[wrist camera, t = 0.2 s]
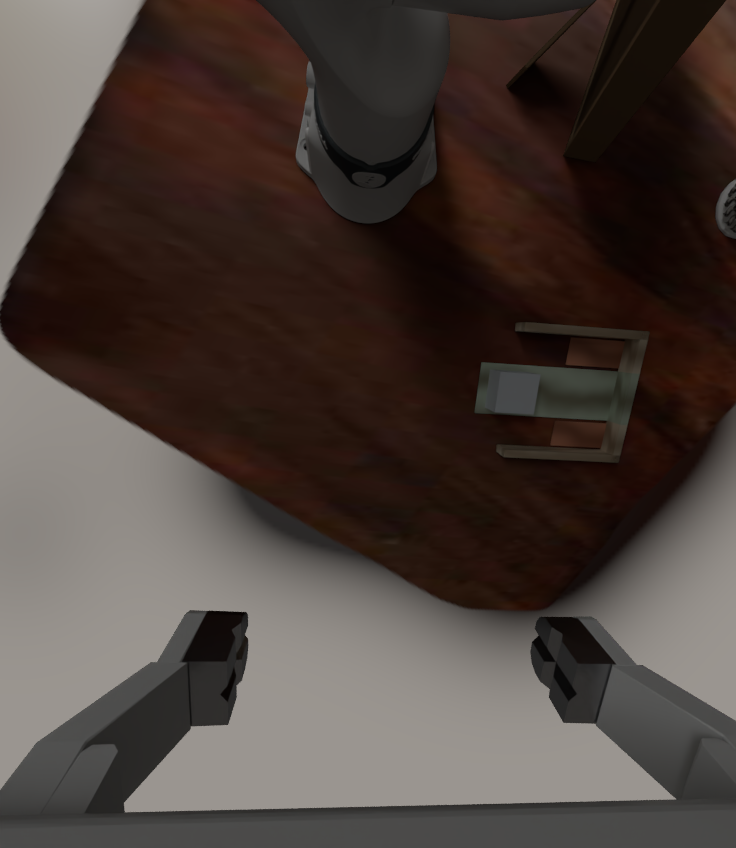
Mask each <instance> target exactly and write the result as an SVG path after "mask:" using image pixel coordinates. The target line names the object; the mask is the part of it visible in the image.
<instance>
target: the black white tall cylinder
mask: <svg viewBox="0 0 736 848" xmlns="http://www.w3.org/2000/svg"><path fill="white" fill-rule="evenodd" d="M715 219H716V222H717V225H718V228H719V230H720V231H721V232H722V233H723V234H724V235H725V236H727V237H731V238H734V239H736V180H734V181H732V182H731V183H729V184H728V186H727V187H726V188H725V189H724V190H723V192H722V193H721V195H720V197H719V200H718V202H717V205H716V214H715Z"/></svg>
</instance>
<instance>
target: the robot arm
mask: <svg viewBox="0 0 736 848" xmlns="http://www.w3.org/2000/svg"><path fill="white" fill-rule="evenodd" d="M256 1H257V2H258V3H259V4H261V5H262V6H263V7H264V8H265V9H266V10H267V11H268V12H269V13H270V14H271V15H272V16H273V17H274V18H275V19H276V20H277V21H278V22H279V23H280V24H281V25H282V26H283V27H284V28H285V30H286V31H287V32H288V33H289V34H290V35H291V36H292V38H293V39H294V40H295V41H296V43H297V44H298V45H299V46H300V48H301V49H302V50H303V52H304V53H305V54H306V56H307V57H308V59H309V60H310V61H309V63H308V67H307V76H306V84H307V87H308V88H309V89H308V94H307V99H306V102H305V110H304V115H303V120H302V125H301V130H300V135H299V140H298V145H297V150H296V162H297V164H298V166H299V167H300V168H301V169H302V170H303V171H304V172H305V173H306V174H307V175H308V176H310V177H311V178H312V179H313V180H314V182H315V183H316V185H317V187H318V189H319V190H320V192H321V194H322V196H323V198H324V199H325V200H326V202H327V203H328V204H329V205H330V206H331V208H332V209H334V210H335V211H336V212H337V213H338V214H340V215H341V216H343V217H345V218H347V219H349V220H351V221H355V222H359V223H377V222H381V221H384V220H387V219H389V218H391V217H393V216H394V215H396V214H397V213H398V212H400V211H401V210H402V209H403V208H404V207H405V206H406V204H407V203H408V202H409V200H410V199H411V197H412V196H413V195H414V193H415V192H416V191H417V190H418V189H420V188H422V187H423V186H425V185H427V184H428V183H430V182H431V181H432V180H433V179H434V177H435V175H436V172H437V161H436V147H435V133H434V119H433V113H434V103H435V100H436V97H437V94H438V92H439V89H440V86H441V84H442V81H443V78H444V75H445V73H446V69H447V65H448V60H449V53H450V27H449V20H448V15H447V13H451V14H459V15H466V16H473V17H480V18H487V19H494V20H511V19H519V18H527V17H535V16H543V15H548V14H553V13H558V12H564V11H569V10H574V9H580V8H584V7H586V6H588V5H590V4H591V3H593V2H594V1H595V0H256ZM305 146H306V148H307V150H305V149H304V147H305ZM247 627H248V614H247V613H246V612H228V611H194V610H190V611H189V612H187V613H186V614H185V615H184V617H183V619H182V621H181V623H180V624H179V626H178V628H177V629H176V631H175V632H174V634H173V636H172V638H171V639H170V641H169V643H168V644H167V646H166V648H165V650H164V651H163V653H162V655H161V656H160V658H159V660H158V662H151V663H150V664H148V665H147V666H145V667H144V668H142V669H141V670H140V671H138V672H137V673H135V674H134V675H132V676H131V677H130V678H128V679H127V680H125V681H124V682H122V683H121V684H120V685H118V686H117V687H115V688H114V689H112V690H111V691H109V692H108V693H107V694H105V695H104V696H102V697H101V698H100V699H98V700H97V701H95V702H94V703H92V704H91V705H90V706H88V707H87V708H85V709H84V710H82V711H81V712H80V713H78V714H77V715H75V716H74V717H73V718H71V719H70V720H68V721H67V722H65V723H64V724H63V725H61V726H60V727H58V728H57V729H56V730H54V731H53V732H51V733H50V734H48V735H47V736H46V737H44V738H43V739H41V740H40V741H38V742H37V743H36V744H35V745H34V747H33V748H32V750H31V751H30V752H29V753H28V755H27V756H26V757H25V759H24V760H23V761H22V762H21V764H20V765H19V766H18V768H17V769H16V770H15V772H14V773H13V774H12V775H11V777H10V778H9V779H8V781H7V782H6V783H5V785H4V786H3V787H2V789H1V790H0V848H736V721H735V720H733V719H732V718H730V717H728V716H727V715H725V714H723V713H722V712H720V711H718V710H717V709H715V708H713V707H712V706H710V705H708V704H707V703H705V702H703V701H702V700H700V699H698V698H697V697H695V696H693V695H691V694H689V693H688V692H686V691H685V690H683V689H681V688H680V687H678V686H676V685H675V684H673V683H671V682H670V681H668V680H666V679H665V678H663V677H661V676H660V675H658V674H656V673H655V672H653V671H651V670H650V669H648V668H646V667H644V666H643V665H636V664H635V663H634V661H633V660H632V659H631V658H630V657H629V656H628V654H627V653H626V652H625V651H624V650H623V649H622V648H621V647H620V646H619V644H618V643H617V642H616V641H615V640H614V639H613V638H612V637H611V635H610V634H608V632H607V631H606V630H605V629H604V628H603V627H602V626H601V624H600V623H599V622H598V621H597V620H596V619H594V618H592V617H540V618H539V619H538V620H537V622H536V626H535V630H536V631H537V633H538V635H539V636H538V637H537V638H536V639H535V640H534V641H533V642H532V647H531V659H532V665H533V667H534V670H535V673H536V675H537V677H538V678H539V680H540V682H542V683H543V684H544V685H546V686H547V687H548V688H549V689H550V693H549V698H550V700H551V701H552V703H553V705H554V707H555V709H556V710H557V712H558V714H559V715H560V717H561V719H562V721H563V722H564V723H594V724H596V726H597V727H598V728H599V729H601V731H603V732H604V733H605V734H606V735H607V736H608V737H609V738H610V739H611V740H612V741H614V742H615V743H616V744H617V745H618V746H619V747H620V748H621V749H622V750H623V751H624V752H626V753H627V754H628V755H629V756H630V757H631V758H632V759H633V760H634V761H636V762H637V763H638V764H639V765H640V766H641V767H642V768H643V769H644V770H645V771H646V772H647V773H649V774H650V775H651V776H652V777H653V778H654V779H655V780H656V781H657V782H658V783H660V784H661V785H662V786H663V787H664V788H665V789H666V790H667V791H668V792H669V793H670V794H671V795H672V796H674V797H675V798H676V799H677V800H643V801H642V800H641V801H599V802H598V801H597V802H558V803H557V802H556V803H515V804H477V805H475V804H472V805H431V806H430V805H428V806H386V807H340V808H298V809H258V810H257V809H256V810H216V811H215V810H212V811H175V812H174V811H172V812H128V813H125V811H124V802H125V801H126V800H127V798H129V796H130V795H131V794H132V793H133V792H134V791H135V790H136V789H137V788H138V786H139V785H140V784H141V783H142V782H143V781H144V780H145V779H146V778H147V777H148V775H149V774H150V773H151V772H152V771H153V770H154V769H155V768H156V767H157V765H158V764H159V763H160V762H161V761H162V760H163V759H164V758H165V757H166V755H167V754H168V753H169V752H170V751H171V750H172V749H173V748H174V747H175V745H176V744H177V743H178V742H179V741H180V740H181V739H182V738H183V737H184V735H185V734H186V733H187V732H188V731H189V730H190V728H191V727H190V726H209V725H228V723H229V720H230V717H231V714H232V710H233V707H234V704H235V701H236V697H237V696H236V685H237V684H238V683H239V682H240V681H242V677H243V674H244V670H245V666H246V661H247V654H248V638H247V637H246V636H245V633H246V629H247Z"/></svg>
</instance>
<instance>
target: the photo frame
mask: <svg viewBox="0 0 736 848" xmlns="http://www.w3.org/2000/svg"><path fill="white" fill-rule="evenodd" d="M595 1H596V0H595ZM595 1H594V2H595ZM725 1H726V0H616V3H615V6H614V9H613V12H612V15H611V18H610V21H609V24H608V27H607V29H606V32H605V35H604V38H603V41H602V44H601V47H600V50H599V53H598V56H597V59H596V62H595V64H594V67H593V70H592V73H591V76H590V79H589V82H588V85H587V88H586V91H585V94H584V97H583V99H582V102H581V105H580V108H579V111H578V114H577V117H576V120H575V123H574V126H573V129H572V132H571V134H570V137H569V140H568V143H567V146H566V149H565V152H564V155H563V156H566V157H571V158H576V159H581V160H586V161H591V162H596V161H597V160H598V158H599V157H600V156H601V155H602V154H603V152H604V151H605V150H606V149H607V147H608V146H609V145H610V144H611V142H612V141H613V140H614V139H615V137H616V136H617V135H618V134H619V132H620V131H621V130H622V129H623V127H624V126H625V125H626V124H627V123H628V121H629V120H630V119H631V118H632V116H633V115H634V114H635V113H636V111H637V110H638V109H639V108H640V106H641V105H642V104H643V103H644V101H645V100H646V99H647V98H648V96H649V95H650V94H651V93H652V92H653V90H654V89H655V88H656V87H657V85H658V84H659V83H660V82H661V80H662V79H663V78H664V77H665V75H666V74H667V73H668V72H669V70H670V69H671V68H672V67H673V65H674V64H675V63H676V62H677V61H678V59H679V58H680V57H681V56H682V54H683V53H684V52H685V51H686V49H687V48H688V47H689V46H690V44H691V43H692V42H693V41H694V39H695V38H696V37H697V36H698V34H699V33H700V32H701V31H702V30H703V28H704V27H705V26H706V25H707V23H708V22H709V21H710V20H711V18H712V17H713V16H714V15H715V13H716V12H717V11H718V10H719V8H720V7H721V6H722V5H723V3H724V2H725ZM594 2H593V3H594ZM593 3H591V4H590V5H588V6H586V7H584V8H581V9H580V10H579V11H578V12H577V13H576V14H575V15H574V16H573V17H572V18H571V19H570V20H569V21H568V22H567V23H566V24H565V25H564V26H563V27H562V28H561V29H560V30H559V31H558V32H557V33H556V34H555V35H554V36H553V37H552V38H551V39H550V40H549V41H548V42H547V43H546V44H545V45H544V46H543V47H542V48H541V49H540V50H539V51H538V52H537V53H536V55H535V56H534V57H533V58H532V59H531V60H530V61H529V62H528V63H527V64H526V65H525V66H524V67H523V68H522V69H521V70H520V71H519V72H518V73H517V74H516V75H515V76H514V77H513V79H512V80H511V81H510V82H509V83H508V84H507V85H506V86H507V88H509V87H510V86H511V85H512V84H513V83H514V82H515V81H516V80H517V79H518V78H519V77H520V76H521V75H522V74H523V73H525V72H526V71H527V70H528V69H529V68H530V67H531V66H532V65H533V64H534V63H535V62H536V61H537V60H538V59H539V58H540V57H541V56H542V55H543V54H544V53H545V52H546V51H547V50H548V49H549V48H550V47H551V46H552V45H553V44H554V43H555V42H556V41H557V40H558V39H559V38H560V37H561V36H562V35H563V34H564V33H565V32H566V30H567V29H568V28H569V27H570V26H571V25H572V24H573V23H574V22H575V21H576V20H577V19H578V18H579V17H580V16H581V15H582V14H583V13H584V12H585V11H586V10H587V9H588V8H589V7H590V6H591V5H592V4H593Z"/></svg>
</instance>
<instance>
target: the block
mask: <svg viewBox="0 0 736 848" xmlns="http://www.w3.org/2000/svg"><path fill="white" fill-rule="evenodd" d="M540 376H541V374H536V373H530V372H520V371H505V370H490V374H489V381H488V388H487V395H486V402H485V408H487V409H489V410H491V411H493V412H496V413H513V414H531V415H534V410H535V404H536V398H537V393H538V387H539V381H540Z"/></svg>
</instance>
